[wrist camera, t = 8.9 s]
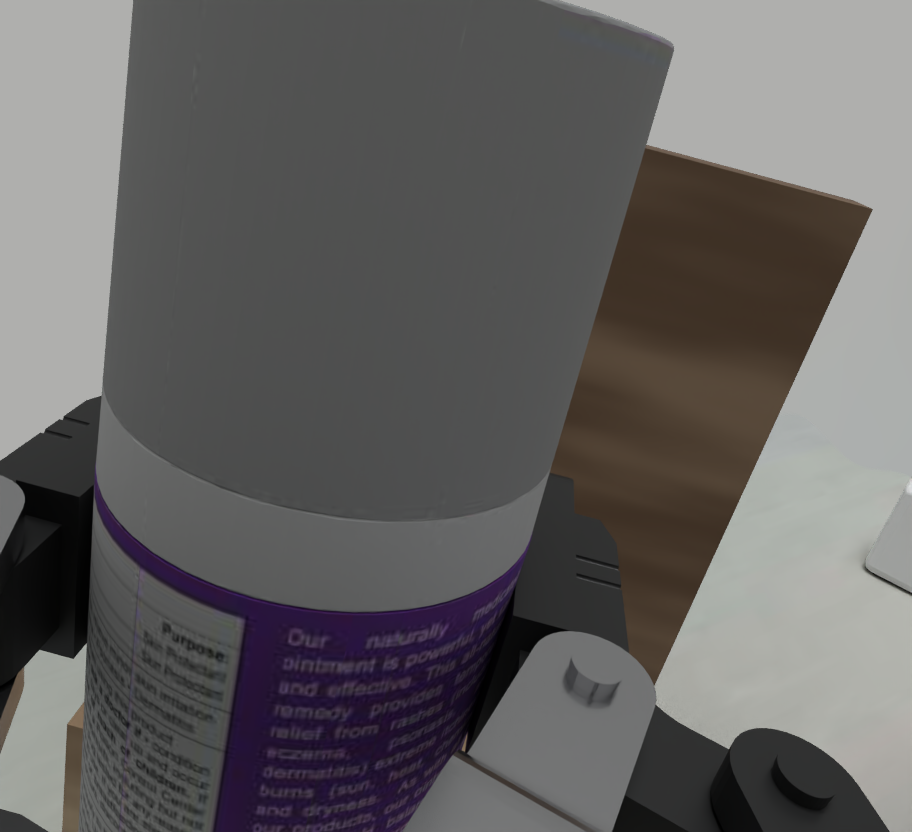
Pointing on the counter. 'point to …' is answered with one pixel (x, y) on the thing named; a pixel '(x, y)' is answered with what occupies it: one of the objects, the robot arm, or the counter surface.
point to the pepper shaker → (895, 545)
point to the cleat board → (680, 377)
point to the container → (336, 387)
